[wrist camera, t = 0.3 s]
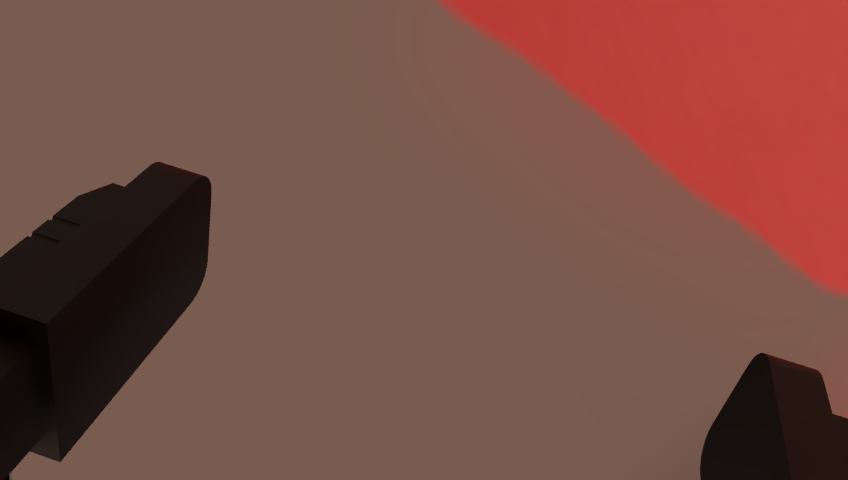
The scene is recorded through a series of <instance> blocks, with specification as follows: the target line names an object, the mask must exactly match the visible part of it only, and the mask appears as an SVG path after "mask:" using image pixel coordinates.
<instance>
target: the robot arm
mask: <svg viewBox="0 0 848 480" xmlns="http://www.w3.org/2000/svg"><path fill="white" fill-rule="evenodd" d="M210 209H211V183H210V180H209V179H208V178H207V177H206V176H202V175H199V174H196V173H193V172H190V171H187V170H183V169H180V168H177V167H174V166H171V165H167V164H164V163H161V162H156V163H153V164H152V165H150V166H149V167H148V168H147V169H146V170H144V171H143V172H142V173H141V174H140V175H138V176H137V177H136V178H135V179H134V180H133V181H131V182H130V183H129V184H128V185H127V186H125V187H123V186H120V185H117V184H114V183H112V184H109V185H107V186H104V187H101V188H99V189H96V190H93V191H90V192H88V193H85V194H82V195H80V196H78V197H76V198H75V199H74V200H72V201H71V202H70V203H69V204H67V205H66V206H65V207H64V208H62V209H61V210H60V211H59V212H57V213H56V214H55V215H54V216H53V219H52V220H47V221H46V222H45V223H43V224H42V225H41V226H40V227H38V228H37V229H36V230H35V231H33V233H32V236H31V237H28V236H27V237H26V238H24V239H23V240H22V241H21V242H19V243H18V244H17V245H16V246H14V247H13V248H12V249H10V250H9V251H8V252H7V253H5V254H4V255H3V256H2V257H0V480H13V479H12V471H13V469H14V468H15V467H16V466H17V465H18V464H19V462H20V461H21V460H22V459H23V458H24V457H25V456H26V455H27V453H28V452H29V451H30V452H33V453H36V454H39V455H42V456H44V457H47V458H50V459H53V460H56V461H59V462H61V461H62V459H63V458H64V457H65V456H66V454H67V453H68V452H69V451H70V450H71V448H72V447H73V446H74V445H75V444H76V442H77V441H78V440H79V439H80V437H81V436H82V435H83V434H84V432H85V431H86V430H87V429H88V428H89V426H90V425H91V424H92V423H93V422H94V420H95V419H96V418H97V417H98V416H99V414H100V413H101V412H102V411H103V409H104V408H105V407H106V406H107V405H108V403H109V402H110V401H111V400H112V399H113V397H114V396H115V395H116V394H117V392H118V391H119V390H120V389H121V388H122V386H123V385H124V384H125V382H126V381H127V380H128V379H129V378H130V377H131V375H132V374H133V373H134V372H135V370H136V369H137V368H138V367H139V366H140V364H141V363H142V362H143V361H144V359H145V358H146V357H147V356H148V355H149V353H150V352H151V351H152V350H153V349H154V347H155V346H156V345H157V344H158V343H159V341H160V340H161V339H162V338H163V336H164V335H165V334H166V333H167V331H168V330H169V329H170V328H171V327H172V325H173V324H174V323H175V322H176V321H177V319H178V318H179V317H180V316H181V315H182V313H183V312H184V311H185V310H186V308H187V307H188V306H189V305H190V304H191V302H192V301H193V299H194V298H195V296H196V295H197V293H198V291H199V289H200V287H201V284H202V282H203V279H204V276H205V272H206V268H207V262H208V245H209V227H210ZM700 475H701V480H848V419H847V418H844V417H841V416H837V415H834V414H832V410H831V407H830V403H829V399H828V395H827V392H826V388H825V384H824V381H823V378H822V375H821V373H820V372H819V371H818V370H815V369H812V368H809V367H806V366H803V365H800V364H796V363H793V362H790V361H787V360H784V359H780V358H777V357H774V356H771V355H768V354H764V353H760V354H758V355H756V356H755V357H754V358H753V359H752V361H751V362H750V363H749V365H748V367H747V368H746V370H745V371H744V373H743V375H742V376H741V378H740V380H739V381H738V383H737V385H736V386H735V388H734V390H733V391H732V393H731V395H730V396H729V398H728V400H727V401H726V403H725V404H724V406H723V408H722V409H721V411H720V413H719V414H718V416H717V417H716V419H715V421H714V422H713V424H712V426H711V428H710V430H709V432H708V435H707V437H706V440H705V443H704V447H703V451H702V456H701V464H700Z"/></svg>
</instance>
